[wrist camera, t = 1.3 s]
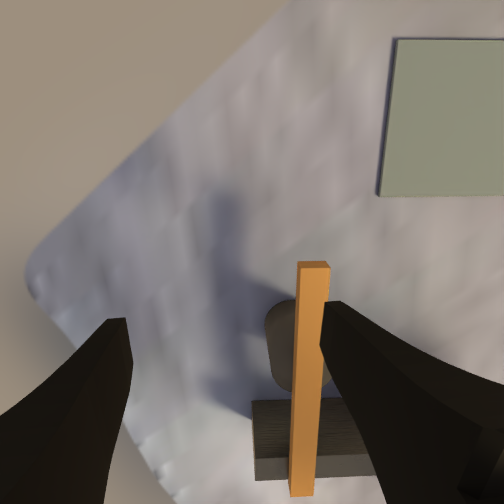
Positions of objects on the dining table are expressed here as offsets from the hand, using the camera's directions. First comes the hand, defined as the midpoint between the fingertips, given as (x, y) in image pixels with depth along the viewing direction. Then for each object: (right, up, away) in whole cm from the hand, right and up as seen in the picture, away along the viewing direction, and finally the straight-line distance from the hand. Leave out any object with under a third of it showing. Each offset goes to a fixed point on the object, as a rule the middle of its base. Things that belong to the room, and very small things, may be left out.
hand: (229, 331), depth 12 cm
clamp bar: (+4, -5, +8) cm, 10 cm away
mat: (+14, +11, +9) cm, 20 cm away
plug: (+4, -2, +13) cm, 14 cm away
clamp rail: (+7, -10, +16) cm, 20 cm away
